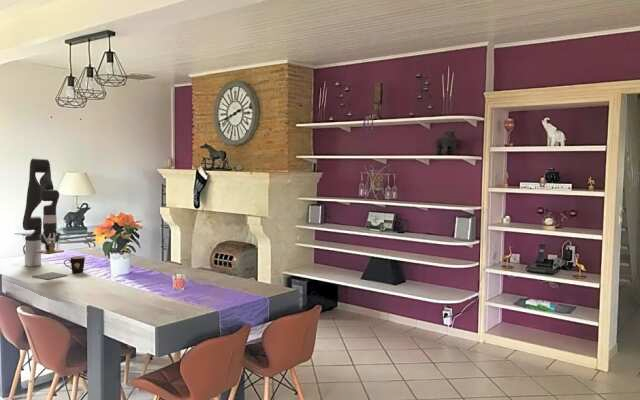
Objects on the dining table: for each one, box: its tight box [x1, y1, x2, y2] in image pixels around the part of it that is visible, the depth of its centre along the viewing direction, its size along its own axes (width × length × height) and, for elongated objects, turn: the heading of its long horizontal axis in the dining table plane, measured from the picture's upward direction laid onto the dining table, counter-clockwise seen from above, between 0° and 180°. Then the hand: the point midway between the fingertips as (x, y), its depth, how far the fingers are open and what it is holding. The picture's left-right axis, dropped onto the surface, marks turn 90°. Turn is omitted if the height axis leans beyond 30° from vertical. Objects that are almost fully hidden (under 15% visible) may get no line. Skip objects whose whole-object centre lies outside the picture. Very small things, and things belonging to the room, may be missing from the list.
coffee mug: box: [63, 255, 86, 275], centre depth 341 cm, size 12×9×10 cm
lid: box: [36, 241, 65, 255], centre depth 327 cm, size 11×11×6 cm
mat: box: [31, 271, 68, 281], centre depth 328 cm, size 14×14×1 cm
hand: (50, 249), depth 327 cm, fingers closed on lid, 3 cm apart
